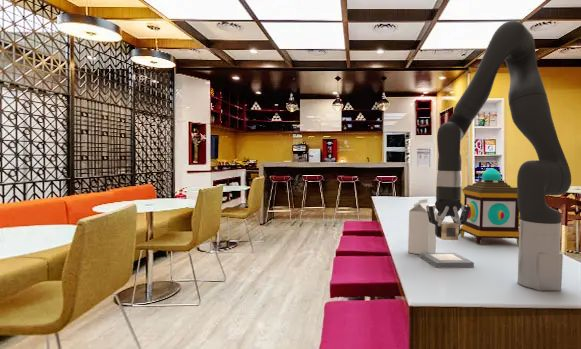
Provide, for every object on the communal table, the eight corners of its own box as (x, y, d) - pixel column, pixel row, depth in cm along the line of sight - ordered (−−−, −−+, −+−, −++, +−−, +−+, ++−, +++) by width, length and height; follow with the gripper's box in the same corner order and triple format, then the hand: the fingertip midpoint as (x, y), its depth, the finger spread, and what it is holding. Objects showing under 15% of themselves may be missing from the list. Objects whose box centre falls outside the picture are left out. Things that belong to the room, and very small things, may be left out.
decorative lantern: (475, 245, 148) (478, 168, 147) (455, 235, 168) (457, 167, 167) (527, 246, 147) (530, 169, 146) (501, 236, 167) (503, 167, 166)
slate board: (473, 267, 118) (474, 262, 118) (436, 267, 117) (436, 262, 117) (454, 257, 130) (454, 252, 130) (420, 257, 129) (420, 252, 129)
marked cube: (450, 236, 126) (451, 221, 126) (458, 240, 121) (459, 224, 121) (436, 236, 126) (436, 221, 126) (443, 240, 121) (443, 224, 121)
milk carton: (435, 253, 136) (437, 199, 135) (427, 256, 130) (428, 201, 130) (416, 249, 140) (418, 198, 140) (407, 252, 135) (409, 199, 134)
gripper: (464, 184, 127) (462, 234, 128) (422, 183, 126) (420, 234, 127) (476, 186, 119) (474, 239, 120) (431, 185, 119) (430, 239, 119)
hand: (447, 236), depth 124 cm, fingers closed on marked cube, 5 cm apart
